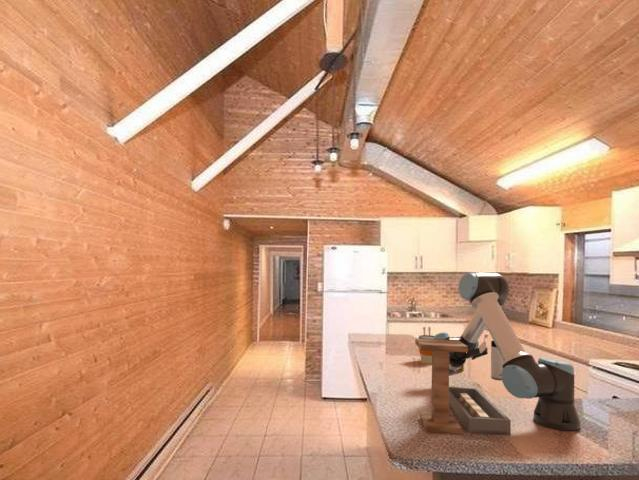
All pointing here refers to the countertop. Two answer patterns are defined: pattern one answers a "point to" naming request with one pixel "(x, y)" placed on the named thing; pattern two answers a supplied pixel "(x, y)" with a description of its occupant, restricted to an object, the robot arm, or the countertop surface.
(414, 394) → the countertop surface
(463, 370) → the condiment
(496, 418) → the tray
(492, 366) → the travel mug
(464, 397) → the ash bar
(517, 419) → the countertop surface
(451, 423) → the shelf stand
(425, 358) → the reusable coffee cup
